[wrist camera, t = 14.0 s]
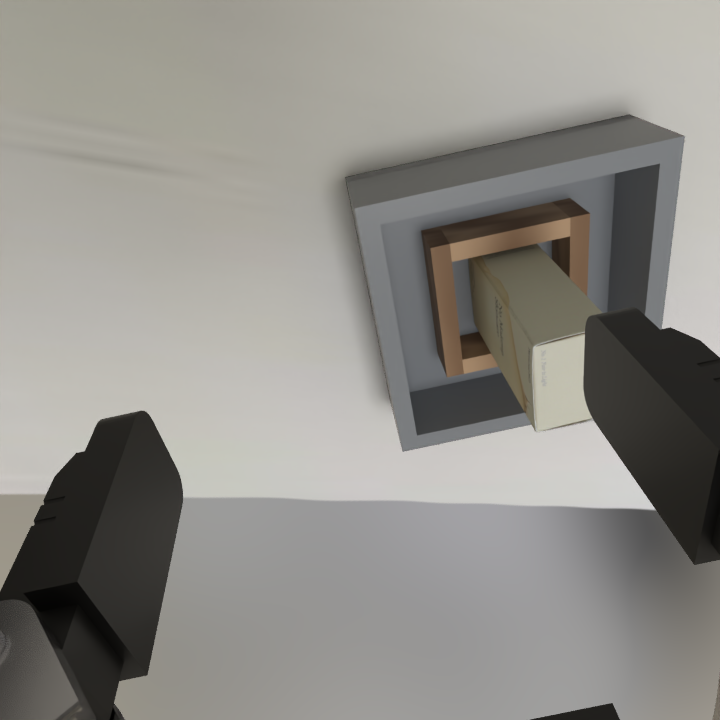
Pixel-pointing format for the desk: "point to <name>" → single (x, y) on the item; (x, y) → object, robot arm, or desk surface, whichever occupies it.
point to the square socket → (489, 236)
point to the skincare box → (534, 331)
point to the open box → (525, 189)
